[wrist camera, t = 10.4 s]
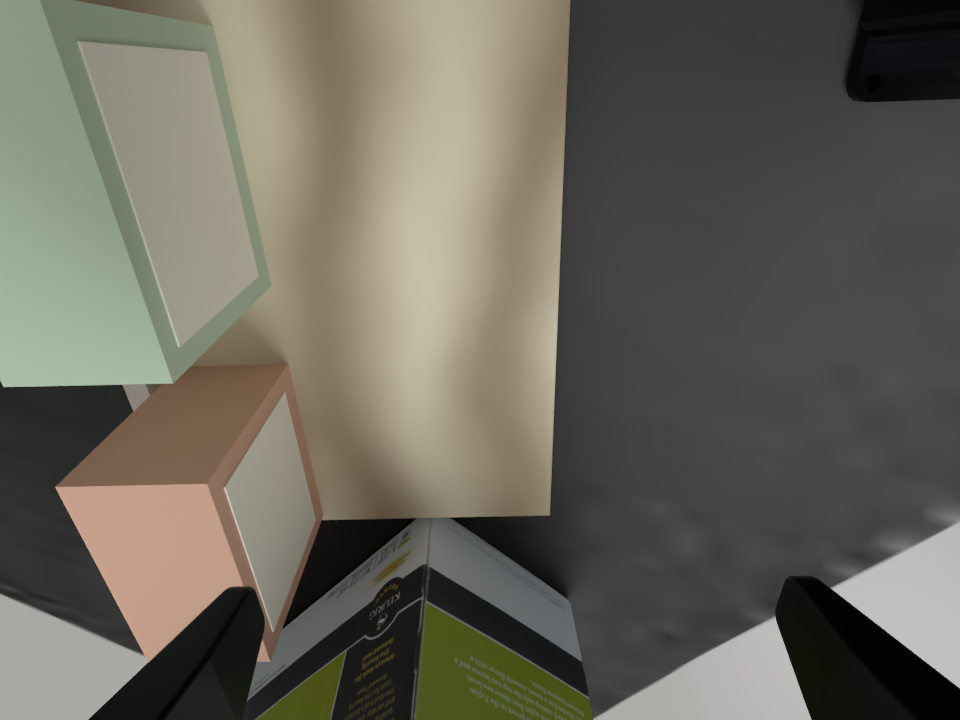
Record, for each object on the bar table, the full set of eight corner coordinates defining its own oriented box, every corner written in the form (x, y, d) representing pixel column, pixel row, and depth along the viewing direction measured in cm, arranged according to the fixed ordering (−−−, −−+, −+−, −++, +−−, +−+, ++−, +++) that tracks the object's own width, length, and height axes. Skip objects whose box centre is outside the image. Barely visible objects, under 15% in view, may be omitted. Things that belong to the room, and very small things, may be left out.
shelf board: (563, -13, 15) (580, -31, 13) (546, 491, 24) (553, 542, 22) (44, 7, 16) (-45, -6, 13) (216, 498, 25) (184, 549, 22)
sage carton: (215, 25, 15) (40, -7, 9) (273, 285, 18) (175, 383, 12) (67, 30, 15) (-203, 1, 9) (153, 288, 18) (1, 386, 12)
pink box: (289, 363, 19) (209, 483, 14) (324, 515, 23) (271, 661, 17) (179, 366, 20) (53, 487, 14) (230, 517, 23) (147, 663, 17)
